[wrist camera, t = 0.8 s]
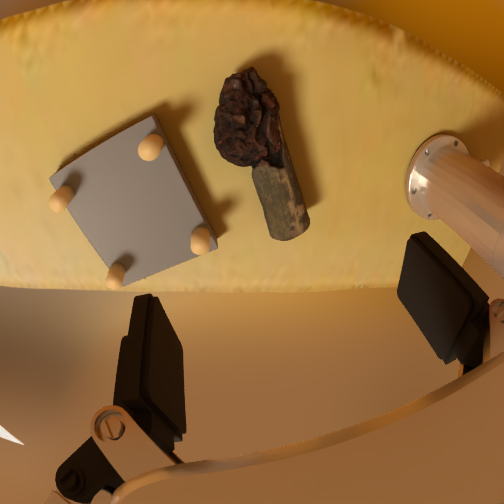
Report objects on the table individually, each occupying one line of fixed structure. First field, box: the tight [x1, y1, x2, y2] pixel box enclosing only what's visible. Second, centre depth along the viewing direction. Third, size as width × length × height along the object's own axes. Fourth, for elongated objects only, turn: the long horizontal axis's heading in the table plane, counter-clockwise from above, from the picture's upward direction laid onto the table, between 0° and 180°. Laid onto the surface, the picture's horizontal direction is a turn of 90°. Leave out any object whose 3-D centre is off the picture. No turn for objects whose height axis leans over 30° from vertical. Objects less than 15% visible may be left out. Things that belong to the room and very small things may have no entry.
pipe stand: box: [49, 114, 218, 290], centre depth 29 cm, size 13×16×4 cm
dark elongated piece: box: [213, 67, 310, 241], centre depth 28 cm, size 18×7×6 cm, turn 18°
